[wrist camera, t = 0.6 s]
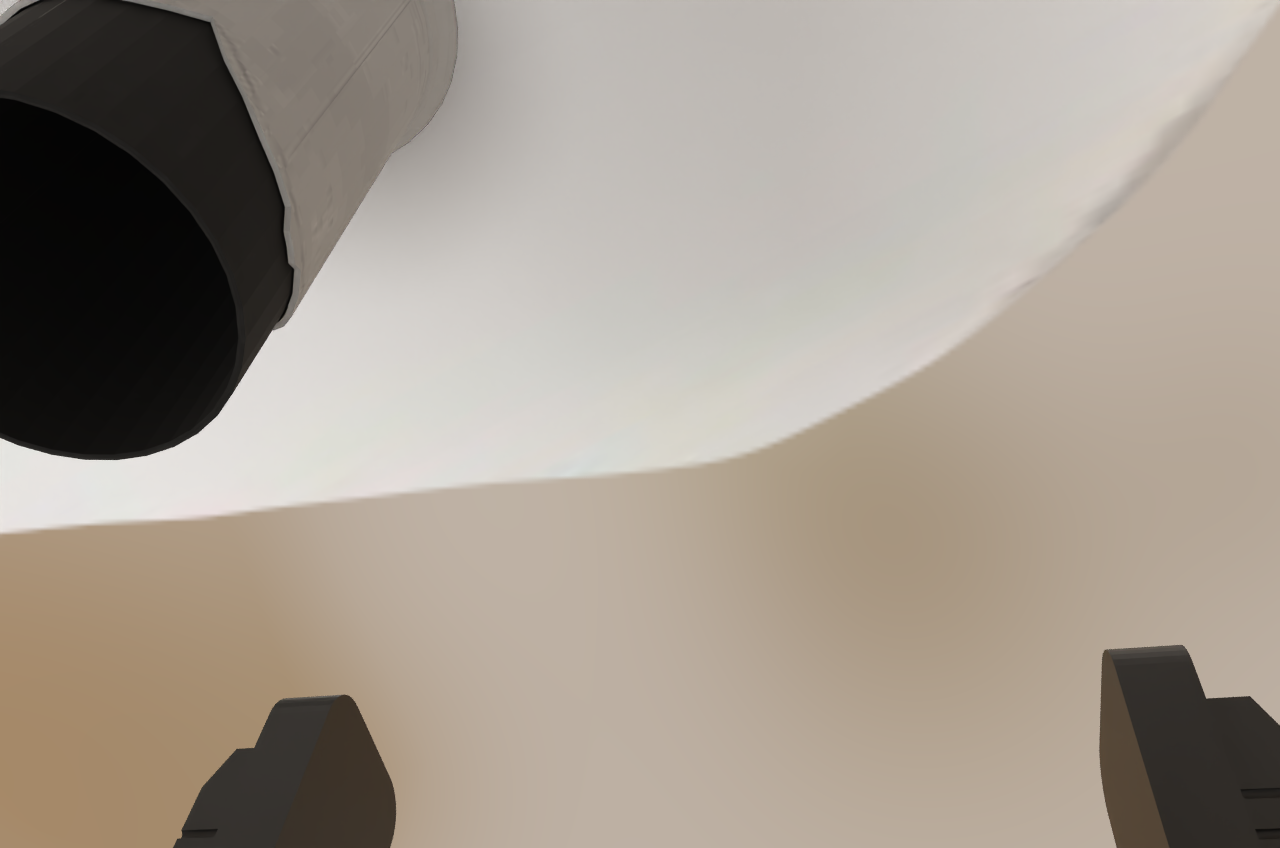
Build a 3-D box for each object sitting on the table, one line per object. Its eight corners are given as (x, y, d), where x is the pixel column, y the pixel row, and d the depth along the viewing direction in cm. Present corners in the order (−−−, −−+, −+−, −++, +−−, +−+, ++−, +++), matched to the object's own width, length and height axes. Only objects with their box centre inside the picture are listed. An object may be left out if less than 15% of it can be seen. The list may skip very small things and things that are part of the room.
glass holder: (466, 177, 36) (310, 504, 24) (-3, 144, 37) (-384, 446, 25) (447, -145, 31) (237, 64, 19) (-97, -176, 31) (-640, 6, 19)
